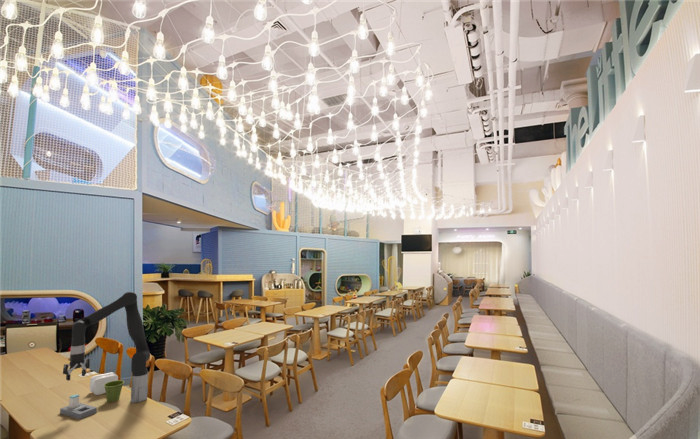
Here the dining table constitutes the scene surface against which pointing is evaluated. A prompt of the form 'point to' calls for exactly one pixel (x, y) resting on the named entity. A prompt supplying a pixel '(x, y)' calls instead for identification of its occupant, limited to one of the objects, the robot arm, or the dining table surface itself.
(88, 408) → the socket board
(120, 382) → the plant pot
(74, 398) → the plug peg
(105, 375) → the cable organizer
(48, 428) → the dining table surface
